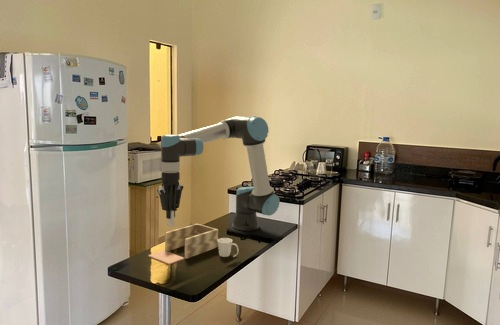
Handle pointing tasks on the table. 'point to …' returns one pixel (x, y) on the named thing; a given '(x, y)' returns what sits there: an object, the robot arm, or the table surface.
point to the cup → (225, 247)
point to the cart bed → (192, 239)
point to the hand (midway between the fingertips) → (170, 225)
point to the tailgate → (166, 257)
